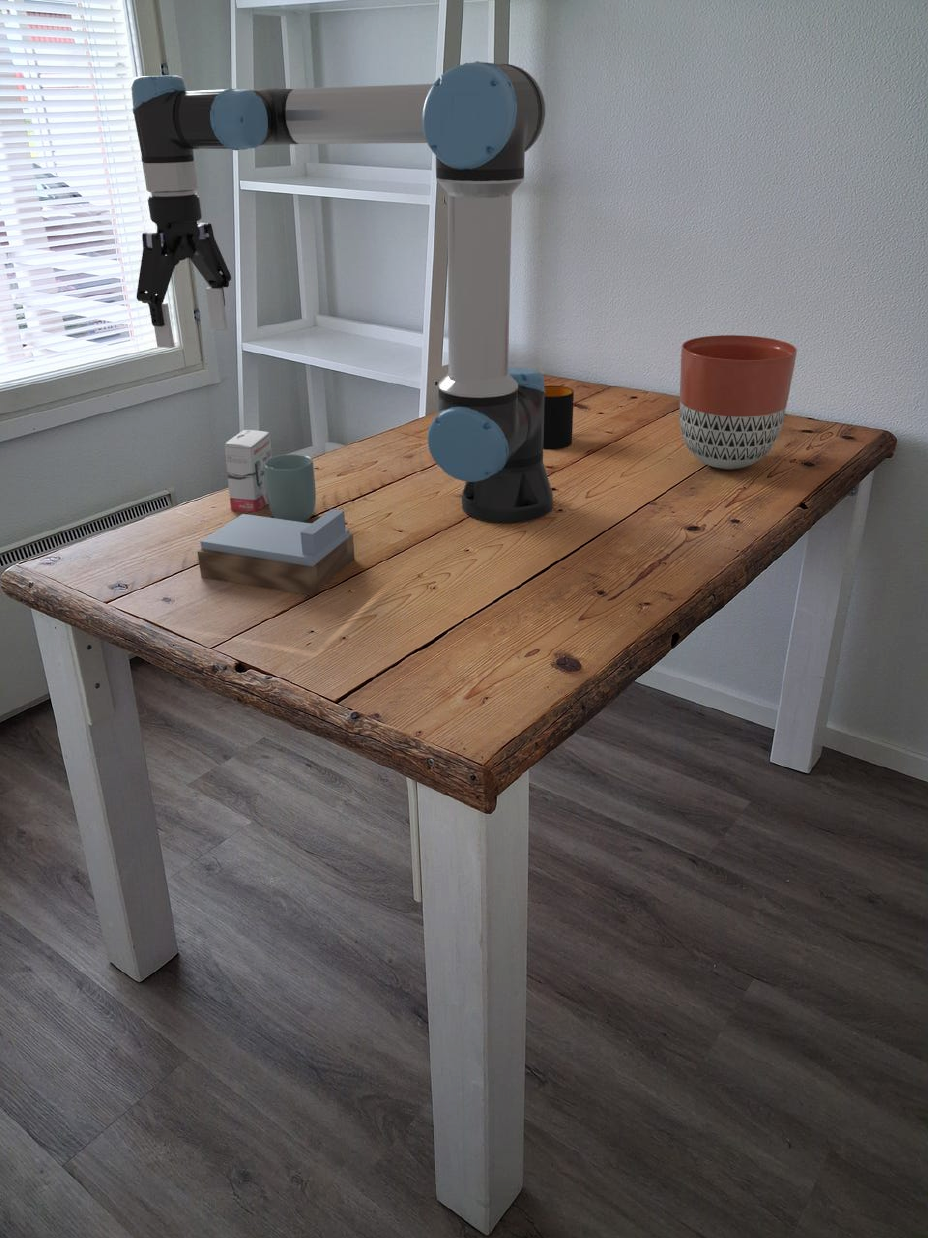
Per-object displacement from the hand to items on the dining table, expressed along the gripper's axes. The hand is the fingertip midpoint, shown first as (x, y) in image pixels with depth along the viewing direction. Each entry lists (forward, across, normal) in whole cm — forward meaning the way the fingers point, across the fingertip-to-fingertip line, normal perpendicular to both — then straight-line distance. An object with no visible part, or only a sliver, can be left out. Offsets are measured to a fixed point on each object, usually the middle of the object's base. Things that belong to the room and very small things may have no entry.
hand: (193, 337), depth 159 cm
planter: (+28, -50, +77) cm, 96 cm away
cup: (+28, +2, +17) cm, 33 cm away
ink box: (+28, -1, +7) cm, 29 cm away
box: (+28, +20, +26) cm, 43 cm away
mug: (+28, -53, +43) cm, 73 cm away
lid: (+23, +20, +26) cm, 40 cm away
